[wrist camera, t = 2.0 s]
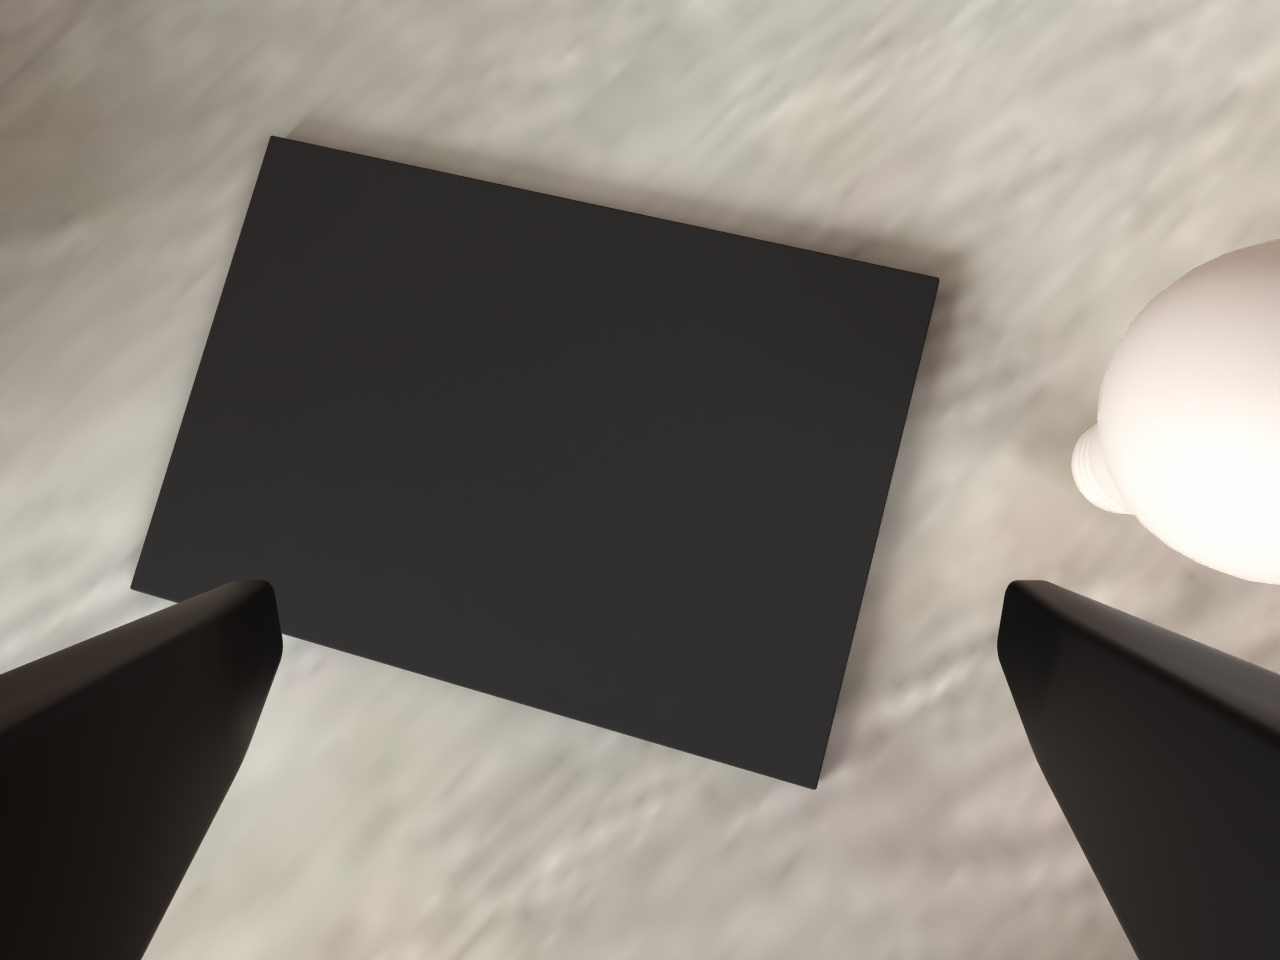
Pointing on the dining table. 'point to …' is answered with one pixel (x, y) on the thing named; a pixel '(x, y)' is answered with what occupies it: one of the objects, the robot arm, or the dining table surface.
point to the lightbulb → (1197, 417)
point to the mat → (547, 450)
